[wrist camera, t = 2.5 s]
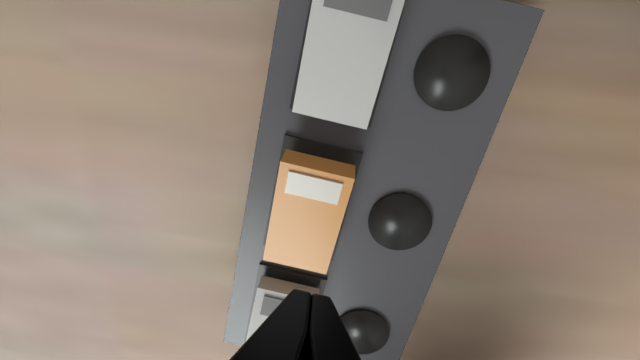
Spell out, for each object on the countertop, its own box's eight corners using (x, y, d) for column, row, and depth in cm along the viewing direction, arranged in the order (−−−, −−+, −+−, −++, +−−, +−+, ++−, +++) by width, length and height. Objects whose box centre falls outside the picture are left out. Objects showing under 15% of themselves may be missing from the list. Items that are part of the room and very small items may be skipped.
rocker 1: (297, 372, 20) (295, 391, 18) (243, 360, 20) (237, 378, 18) (319, 288, 18) (318, 302, 17) (262, 275, 18) (256, 288, 17)
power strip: (385, 340, 24) (391, 382, 21) (237, 306, 24) (222, 344, 21) (510, 15, 17) (547, 9, 14) (298, -37, 16) (288, -55, 13)
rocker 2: (366, 119, 15) (366, 130, 14) (296, 102, 15) (291, 112, 14) (406, -19, 13) (411, -19, 11) (323, -40, 13) (319, -42, 11)
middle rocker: (328, 257, 18) (326, 276, 17) (268, 243, 18) (262, 261, 16) (355, 165, 15) (354, 180, 14) (285, 148, 15) (279, 162, 14)
